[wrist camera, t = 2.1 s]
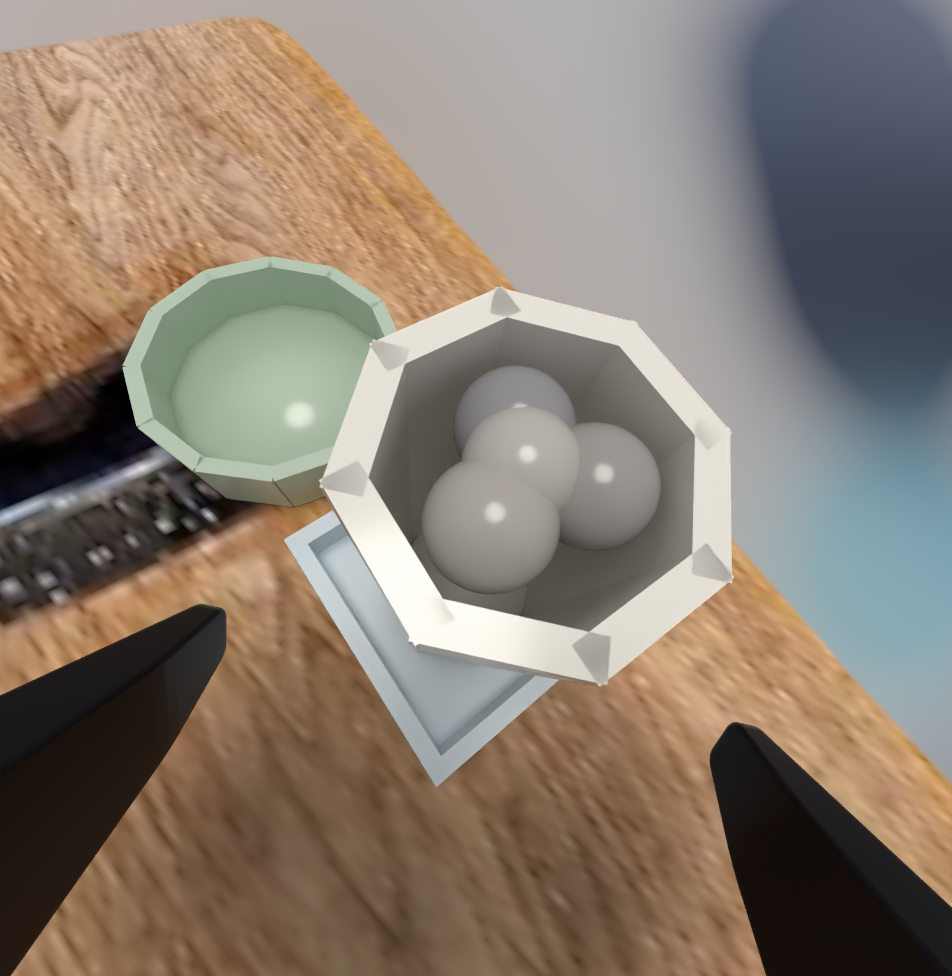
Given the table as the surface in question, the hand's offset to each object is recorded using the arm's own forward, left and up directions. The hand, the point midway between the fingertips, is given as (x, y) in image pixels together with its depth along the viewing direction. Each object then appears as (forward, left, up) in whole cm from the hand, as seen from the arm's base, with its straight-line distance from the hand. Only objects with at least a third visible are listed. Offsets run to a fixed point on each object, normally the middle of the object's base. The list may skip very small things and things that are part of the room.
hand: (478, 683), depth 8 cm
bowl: (+11, +9, -10) cm, 17 cm away
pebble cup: (+3, 0, -10) cm, 10 cm away
